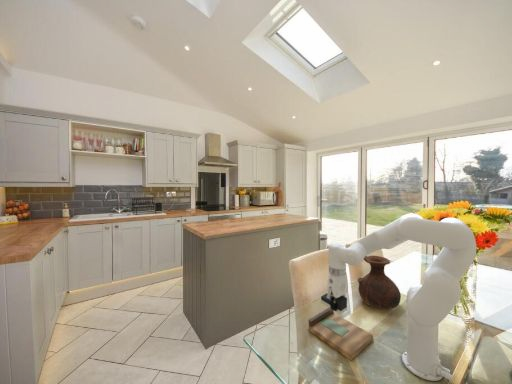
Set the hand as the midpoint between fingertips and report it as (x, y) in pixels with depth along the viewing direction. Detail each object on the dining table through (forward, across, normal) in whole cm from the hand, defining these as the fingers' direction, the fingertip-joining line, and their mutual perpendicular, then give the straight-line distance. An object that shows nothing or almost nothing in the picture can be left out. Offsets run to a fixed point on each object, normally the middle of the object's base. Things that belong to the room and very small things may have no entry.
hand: (337, 307), depth 101 cm
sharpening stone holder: (+13, 0, -1) cm, 13 cm away
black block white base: (+1, 0, +2) cm, 2 cm away
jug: (+13, +40, 0) cm, 42 cm away
